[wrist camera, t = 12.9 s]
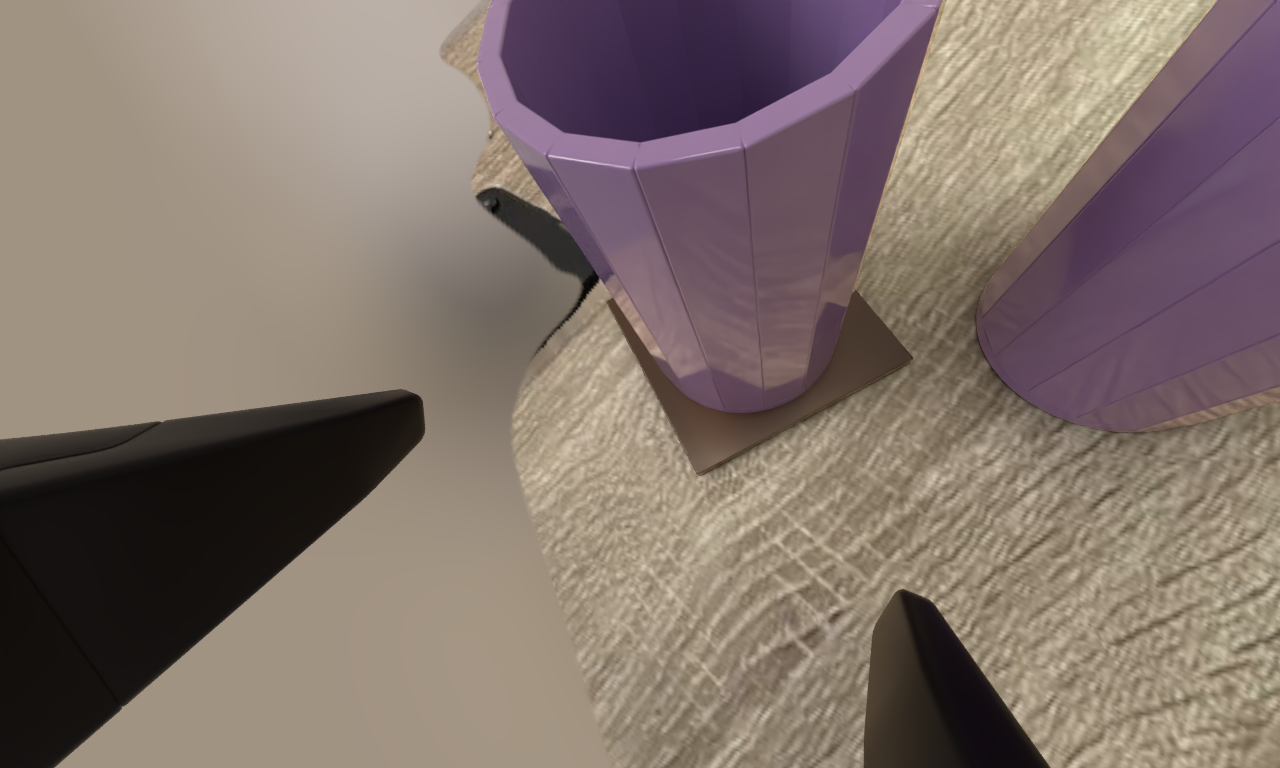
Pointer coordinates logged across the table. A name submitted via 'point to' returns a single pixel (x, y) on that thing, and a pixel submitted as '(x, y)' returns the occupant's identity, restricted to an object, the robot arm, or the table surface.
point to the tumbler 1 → (715, 164)
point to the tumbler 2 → (1159, 249)
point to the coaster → (726, 435)
